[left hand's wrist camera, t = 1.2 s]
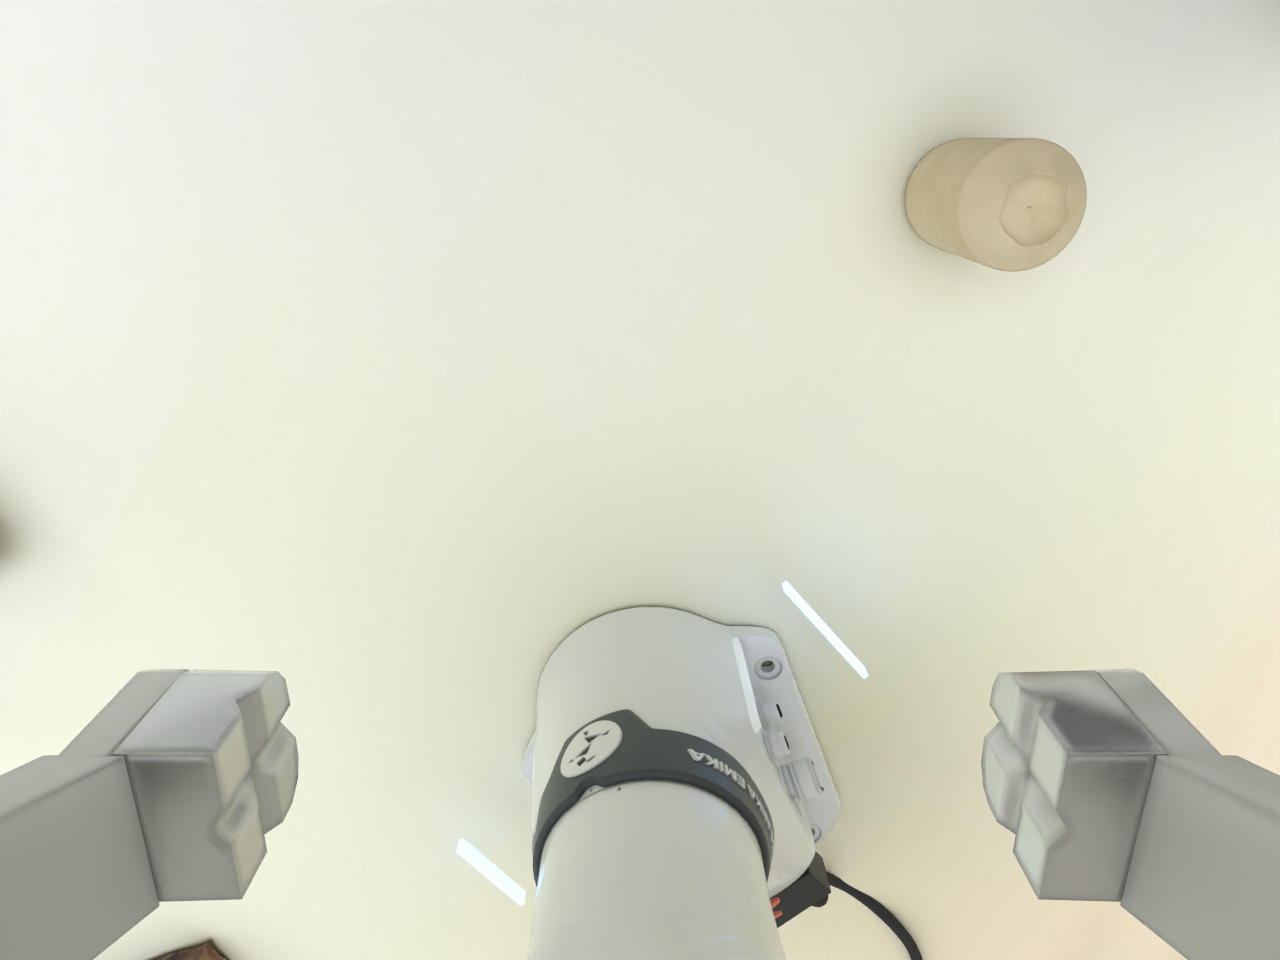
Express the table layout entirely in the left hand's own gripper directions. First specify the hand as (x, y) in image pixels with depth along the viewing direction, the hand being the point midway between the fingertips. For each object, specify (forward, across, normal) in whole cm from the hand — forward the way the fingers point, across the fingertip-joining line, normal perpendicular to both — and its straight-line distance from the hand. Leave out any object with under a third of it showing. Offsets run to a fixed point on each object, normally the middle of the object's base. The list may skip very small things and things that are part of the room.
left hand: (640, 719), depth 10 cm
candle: (+40, +16, +4) cm, 44 cm away
